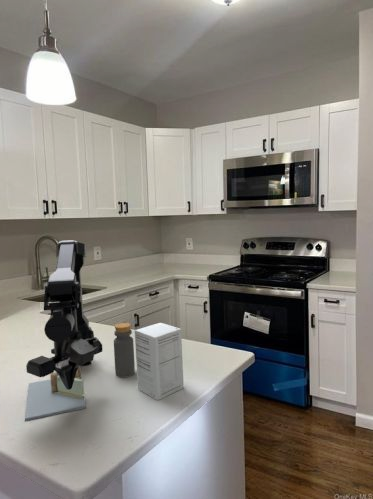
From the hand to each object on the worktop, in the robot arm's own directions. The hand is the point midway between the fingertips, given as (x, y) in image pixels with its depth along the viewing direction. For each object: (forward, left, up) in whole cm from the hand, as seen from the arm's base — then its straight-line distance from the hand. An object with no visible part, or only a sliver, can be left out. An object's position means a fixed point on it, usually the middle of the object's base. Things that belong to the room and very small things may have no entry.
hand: (69, 388), depth 91 cm
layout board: (+3, -8, -5) cm, 9 cm away
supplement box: (-24, 0, -5) cm, 24 cm away
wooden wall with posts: (0, -13, -5) cm, 14 cm away
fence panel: (0, -6, -4) cm, 7 cm away
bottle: (-17, -14, -5) cm, 22 cm away
